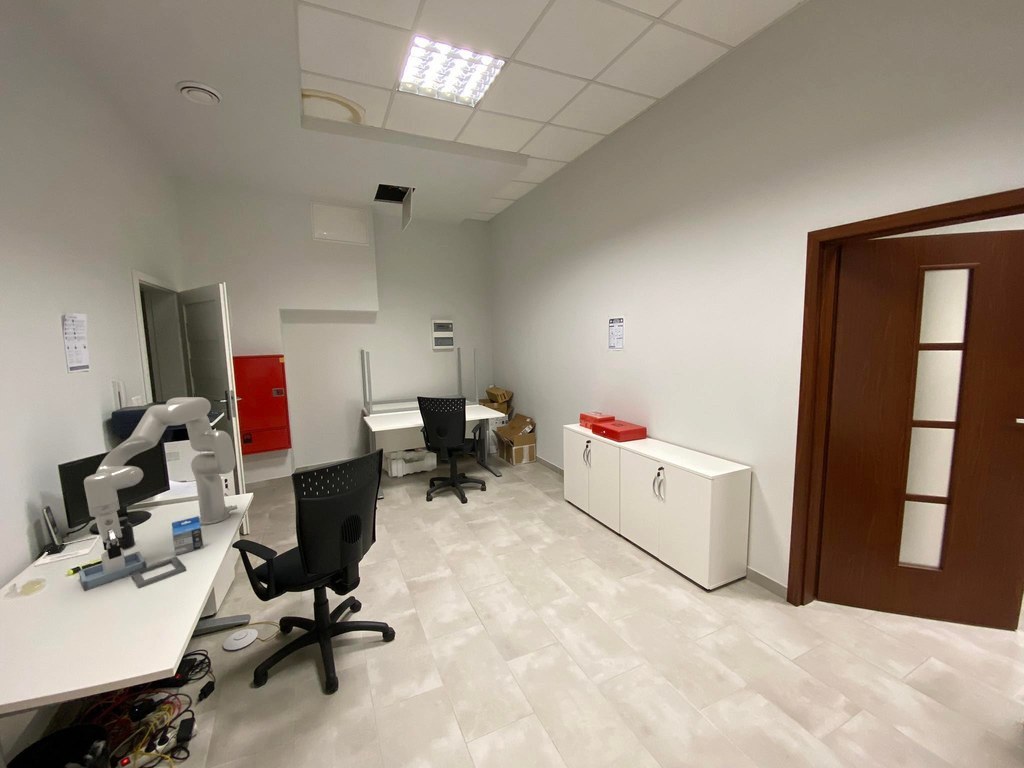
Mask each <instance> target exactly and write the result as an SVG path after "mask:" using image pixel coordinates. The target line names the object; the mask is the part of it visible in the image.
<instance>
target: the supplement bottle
mask: <svg viewBox="0 0 1024 768" xmlns="http://www.w3.org/2000/svg"><path fill="white" fill-rule="evenodd" d="M118 519H119V523H120V528H121V532H122V537H121V538H118V537H117V539H118V542H119V545H120V548H122V549H123V551H125V550H127V549H129V548H131V547H134V545H135V544H136V540H135V535H134V534H135V533H134V527H133V524H132V523H130V522H129V518H128V516H121V517H118Z"/></svg>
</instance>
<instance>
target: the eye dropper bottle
mask: <svg viewBox="0 0 1024 768" xmlns="http://www.w3.org/2000/svg"><path fill="white" fill-rule="evenodd" d="M109 543H110V542H109ZM106 548H108V546H107V545H106ZM120 549H121V554H122V555H121V556H119V557H116V558H113V559H109V556H108V551H107V550H105V551H103V552H102V554H101V557H100V558H101V563H102V565H103V572H104V574H107V573H110V572H113V571H116V570H119V569H122V568H124V567H126V565H125V559H124V556H125V554H124V553H125V552H124V550H123V549H122V548H120Z"/></svg>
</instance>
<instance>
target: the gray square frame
mask: <svg viewBox="0 0 1024 768" xmlns="http://www.w3.org/2000/svg"><path fill="white" fill-rule="evenodd" d="M170 564H171V565H172V566H173V567H174V569H171V570H168V571H165V572H163V573H160V574H158V575H155V576H152V577H150V578H147V579H145V578H144V577H143V576H142V574H145V573H147V572H150V571H153V570H156V569H160V568H162V567H165V566H168V565H170ZM146 566H147V567H144V568H141V569H138V570H135V571H132V572H130V574H131V575H130V577H131V578H132V580H133V582H134V583H135V585H136V586H137V588H138V589H140V588H142V587H145V586H149V585H151V584H154V583H157V582H159V581H162V580H164V579H168V578H170V577H173V576H176V575H178V574H181V573H183V572H185V571H187V567H186V565H185V564H184V563H183V562H182V561H181V560H180V559H179V558H178V557H177V555H175V556H173V557H170V558H167V559H165V560H161V561H159V562H155V563H152V564H149V565H146Z"/></svg>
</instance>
